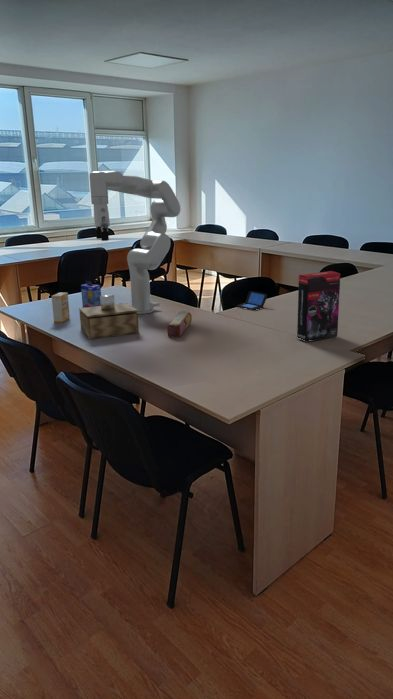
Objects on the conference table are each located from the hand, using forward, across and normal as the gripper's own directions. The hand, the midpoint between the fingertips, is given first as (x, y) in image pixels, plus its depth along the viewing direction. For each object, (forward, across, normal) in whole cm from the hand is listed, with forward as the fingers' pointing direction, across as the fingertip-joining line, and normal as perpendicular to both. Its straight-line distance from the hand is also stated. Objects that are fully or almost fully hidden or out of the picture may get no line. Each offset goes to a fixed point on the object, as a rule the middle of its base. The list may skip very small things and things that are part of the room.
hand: (102, 239), depth 239 cm
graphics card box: (+38, -67, -72) cm, 106 cm away
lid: (+29, -18, +4) cm, 34 cm away
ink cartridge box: (+39, +29, +1) cm, 48 cm away
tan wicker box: (+38, -18, +4) cm, 43 cm away
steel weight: (+28, -18, +4) cm, 34 cm away
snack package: (+39, -31, -25) cm, 56 cm away
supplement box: (+38, +10, +20) cm, 45 cm away
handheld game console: (+39, -7, -75) cm, 84 cm away
